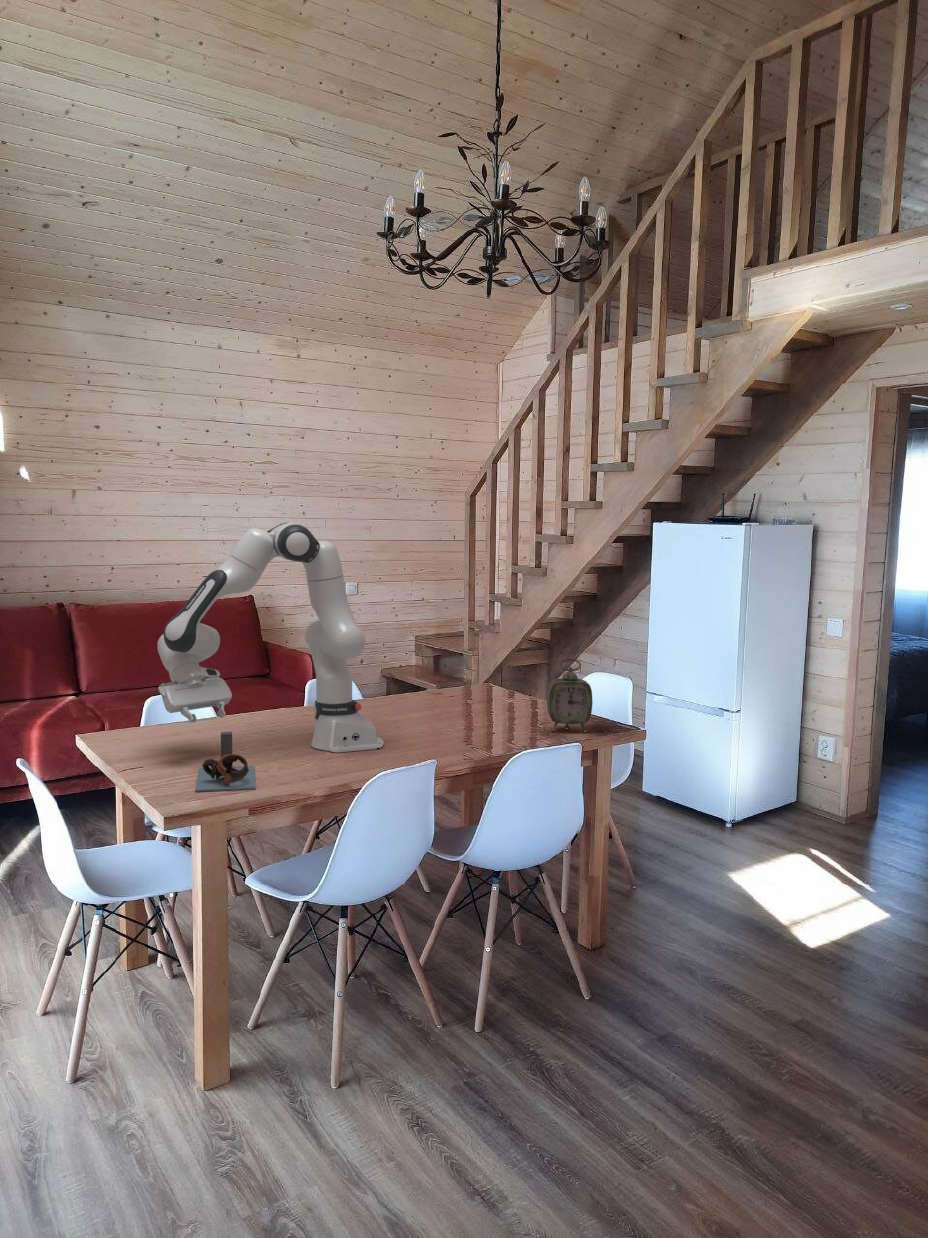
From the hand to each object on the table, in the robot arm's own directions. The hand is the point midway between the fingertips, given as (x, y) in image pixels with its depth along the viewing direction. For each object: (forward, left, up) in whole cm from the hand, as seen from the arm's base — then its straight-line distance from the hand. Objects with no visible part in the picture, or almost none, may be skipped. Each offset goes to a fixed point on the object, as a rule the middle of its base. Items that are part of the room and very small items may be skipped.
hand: (208, 718), depth 255 cm
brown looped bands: (-5, +21, -13) cm, 25 cm away
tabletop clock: (-117, -22, -13) cm, 120 cm away
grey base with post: (-5, +17, -13) cm, 22 cm away
